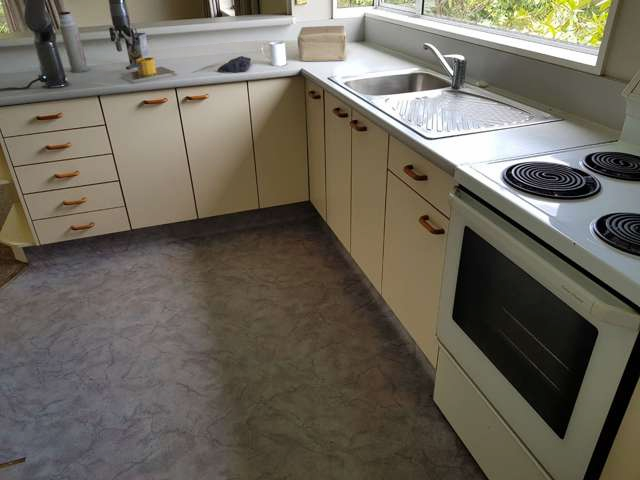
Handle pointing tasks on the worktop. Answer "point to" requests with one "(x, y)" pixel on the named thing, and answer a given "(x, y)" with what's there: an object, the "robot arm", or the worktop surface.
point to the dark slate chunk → (236, 65)
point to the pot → (144, 66)
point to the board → (137, 76)
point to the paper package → (322, 43)
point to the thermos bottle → (72, 43)
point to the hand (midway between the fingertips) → (127, 52)
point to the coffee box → (138, 49)
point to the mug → (276, 53)
